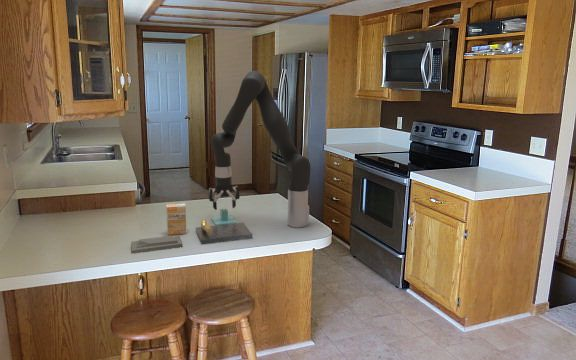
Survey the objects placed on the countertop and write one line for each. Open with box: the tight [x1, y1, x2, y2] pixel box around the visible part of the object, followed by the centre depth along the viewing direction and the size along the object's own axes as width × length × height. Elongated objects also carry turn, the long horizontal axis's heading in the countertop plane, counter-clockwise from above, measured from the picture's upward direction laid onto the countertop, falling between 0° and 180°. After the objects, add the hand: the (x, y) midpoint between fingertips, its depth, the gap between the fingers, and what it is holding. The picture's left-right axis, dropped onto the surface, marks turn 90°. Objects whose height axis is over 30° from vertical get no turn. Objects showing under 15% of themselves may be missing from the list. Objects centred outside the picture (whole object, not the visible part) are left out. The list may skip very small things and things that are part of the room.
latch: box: [200, 219, 212, 233], centre depth 202 cm, size 10×2×4 cm, turn 25°
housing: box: [195, 222, 253, 245], centre depth 206 cm, size 22×16×2 cm
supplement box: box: [166, 202, 187, 236], centre depth 207 cm, size 8×5×13 cm, turn 105°
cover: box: [211, 208, 238, 226], centre depth 223 cm, size 10×10×6 cm
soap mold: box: [130, 235, 184, 254], centre depth 193 cm, size 10×20×4 cm, turn 110°
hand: (224, 208), depth 222 cm, fingers open, 8 cm apart
